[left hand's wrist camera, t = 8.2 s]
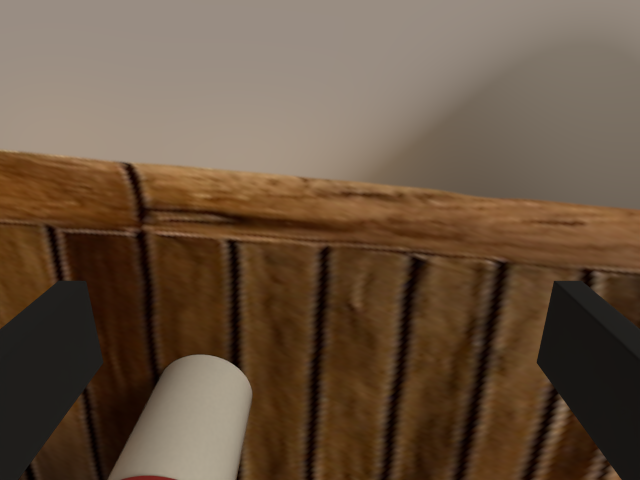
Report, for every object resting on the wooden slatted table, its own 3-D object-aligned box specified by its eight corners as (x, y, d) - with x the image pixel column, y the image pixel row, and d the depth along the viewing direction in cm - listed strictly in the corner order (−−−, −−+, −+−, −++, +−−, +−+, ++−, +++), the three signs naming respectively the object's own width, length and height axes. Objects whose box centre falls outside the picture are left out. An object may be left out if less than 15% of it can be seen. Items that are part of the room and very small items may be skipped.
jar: (193, 337, 46) (127, 481, 30) (271, 390, 48) (247, 550, 32) (138, 397, 49) (51, 558, 33) (215, 444, 51) (167, 616, 35)
